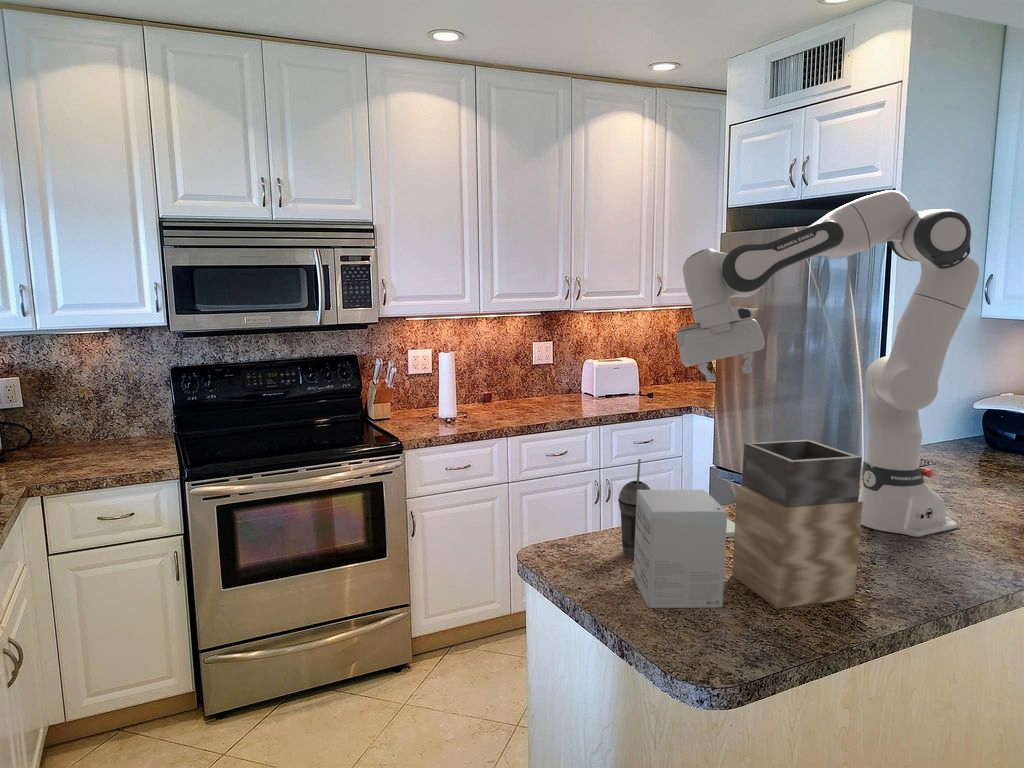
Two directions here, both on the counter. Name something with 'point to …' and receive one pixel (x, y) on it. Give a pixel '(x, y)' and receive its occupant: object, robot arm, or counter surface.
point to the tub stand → (798, 522)
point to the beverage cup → (630, 513)
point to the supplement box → (679, 549)
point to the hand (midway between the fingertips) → (729, 377)
